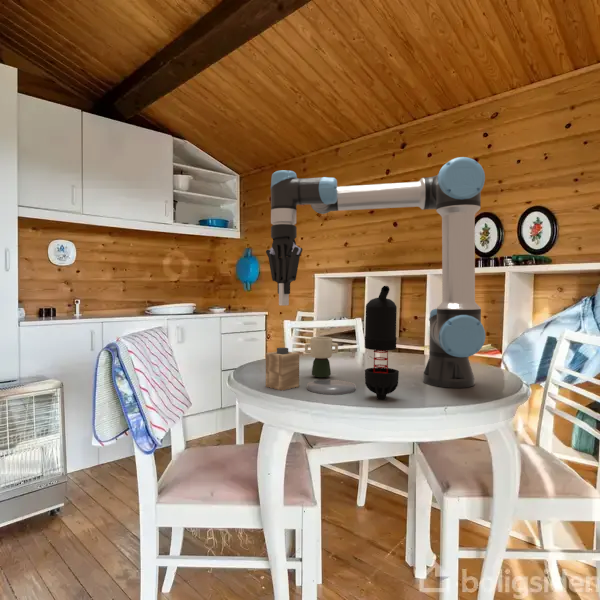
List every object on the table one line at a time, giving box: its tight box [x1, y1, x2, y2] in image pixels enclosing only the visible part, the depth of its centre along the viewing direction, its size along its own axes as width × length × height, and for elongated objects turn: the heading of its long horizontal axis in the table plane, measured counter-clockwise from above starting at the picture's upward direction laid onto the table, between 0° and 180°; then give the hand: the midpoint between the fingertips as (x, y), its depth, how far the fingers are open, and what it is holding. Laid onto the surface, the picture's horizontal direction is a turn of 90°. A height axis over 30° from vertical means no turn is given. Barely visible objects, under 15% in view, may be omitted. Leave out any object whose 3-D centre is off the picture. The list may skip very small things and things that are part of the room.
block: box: [265, 351, 300, 391], centre depth 131 cm, size 7×7×10 cm
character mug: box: [304, 336, 339, 378], centre depth 146 cm, size 11×7×13 cm, turn 89°
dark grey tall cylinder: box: [276, 347, 289, 354], centre depth 131 cm, size 3×3×10 cm
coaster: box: [306, 379, 356, 396], centre depth 129 cm, size 14×14×1 cm
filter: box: [364, 285, 400, 401], centre depth 118 cm, size 14×9×30 cm
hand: (283, 305), depth 131 cm, fingers closed
